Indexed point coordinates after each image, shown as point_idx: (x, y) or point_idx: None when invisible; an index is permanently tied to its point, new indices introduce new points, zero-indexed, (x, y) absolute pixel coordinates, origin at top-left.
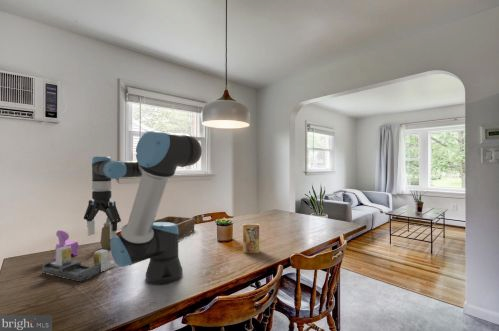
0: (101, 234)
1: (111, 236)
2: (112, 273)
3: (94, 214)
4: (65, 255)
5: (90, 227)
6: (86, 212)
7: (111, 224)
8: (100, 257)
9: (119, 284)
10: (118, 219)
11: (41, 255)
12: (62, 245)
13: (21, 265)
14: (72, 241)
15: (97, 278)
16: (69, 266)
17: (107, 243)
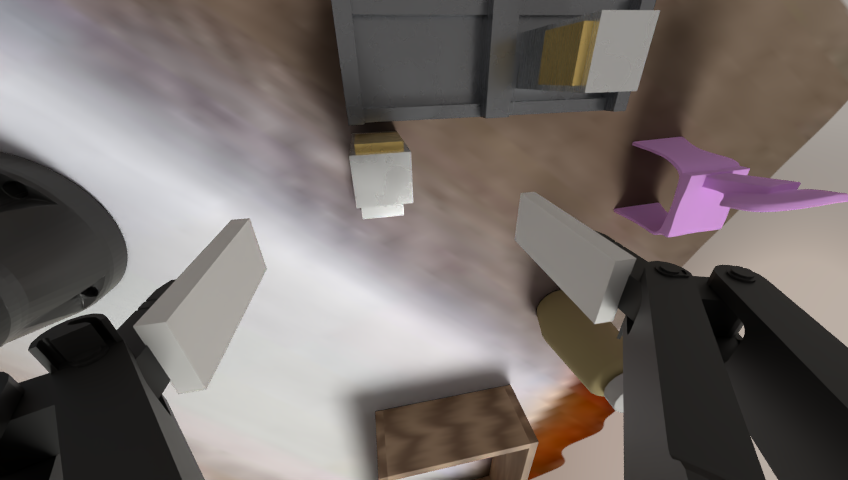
0: (614, 330)
1: (222, 233)
2: (293, 152)
3: (636, 389)
4: (557, 41)
5: (559, 238)
6: (835, 359)
7: (75, 319)
8: (353, 149)
9: (114, 74)
10: (23, 471)
11: (762, 147)
12: (708, 173)
13: (778, 34)
14: (696, 230)
15: (302, 80)
16: (489, 45)
17: (556, 310)
